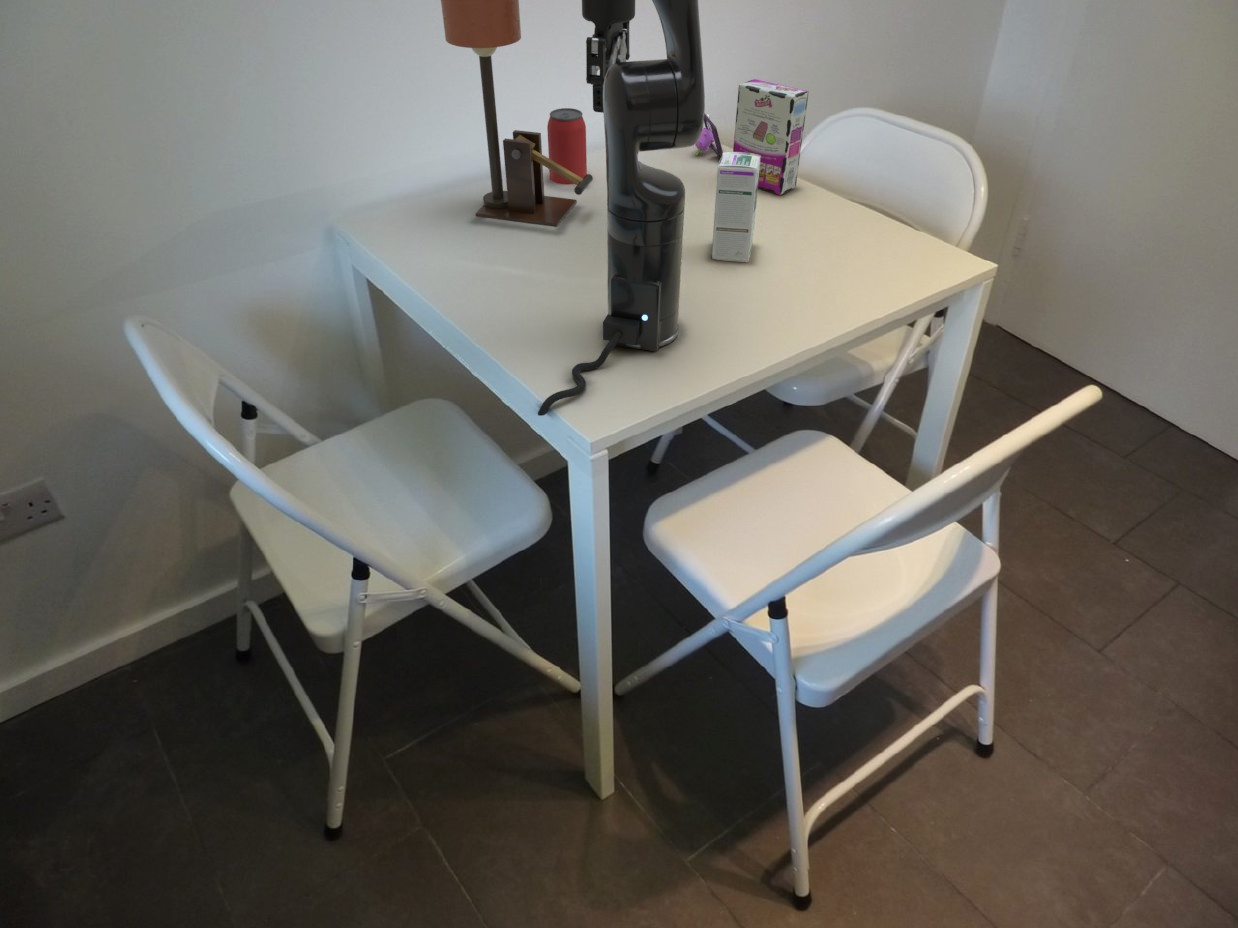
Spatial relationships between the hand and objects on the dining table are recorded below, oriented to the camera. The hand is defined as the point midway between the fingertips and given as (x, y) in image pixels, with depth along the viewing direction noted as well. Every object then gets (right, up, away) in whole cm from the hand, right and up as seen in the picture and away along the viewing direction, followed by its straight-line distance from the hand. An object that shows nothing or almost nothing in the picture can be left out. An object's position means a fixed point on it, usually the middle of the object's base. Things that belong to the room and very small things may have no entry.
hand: (608, 103), depth 126 cm
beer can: (-7, -4, +23) cm, 25 cm away
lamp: (-18, -11, +13) cm, 25 cm away
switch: (-10, -8, +7) cm, 14 cm away
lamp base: (-14, -13, +13) cm, 23 cm away
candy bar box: (+27, -5, +23) cm, 36 cm away
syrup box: (+19, -22, +2) cm, 29 cm away
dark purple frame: (+18, +5, +34) cm, 39 cm away
